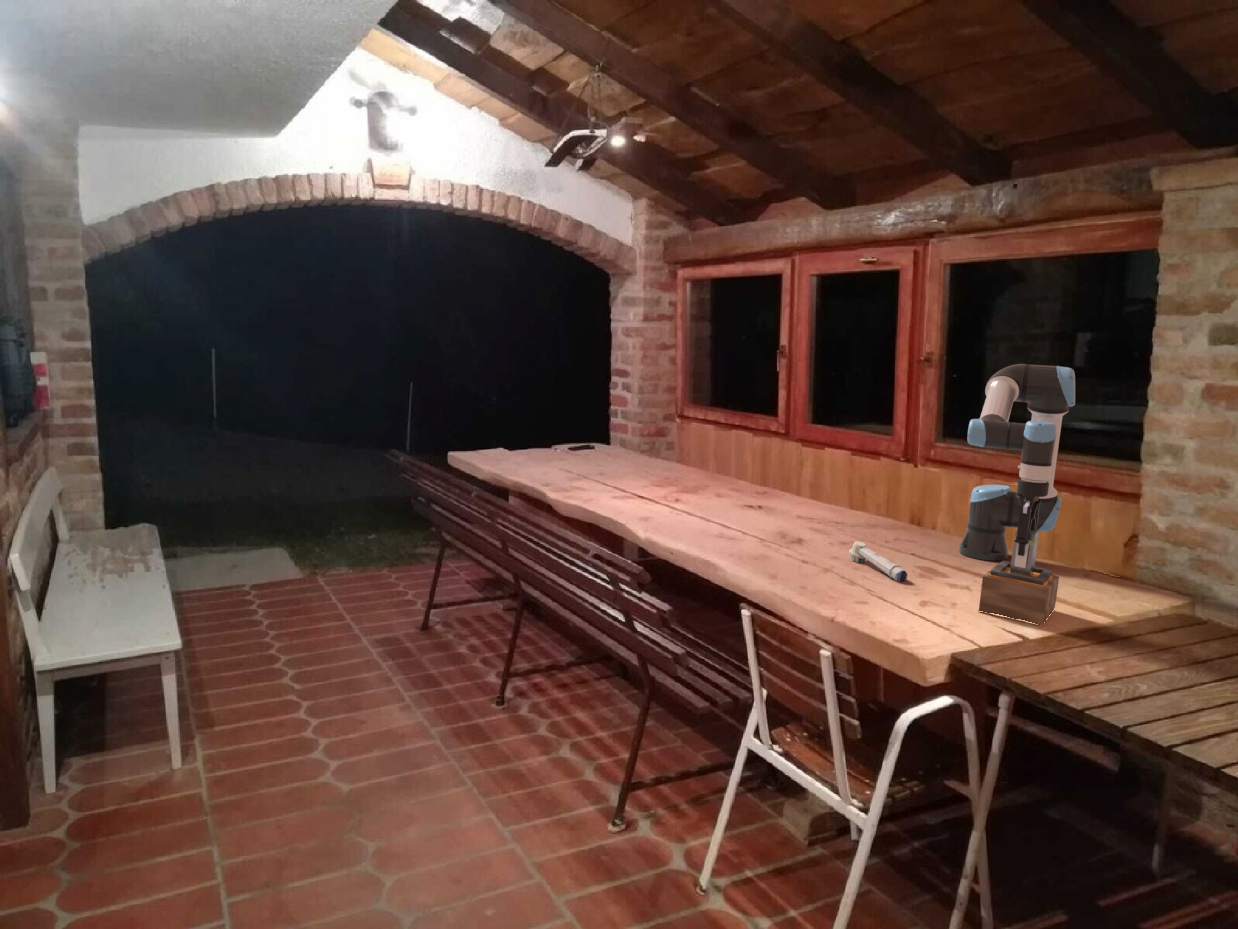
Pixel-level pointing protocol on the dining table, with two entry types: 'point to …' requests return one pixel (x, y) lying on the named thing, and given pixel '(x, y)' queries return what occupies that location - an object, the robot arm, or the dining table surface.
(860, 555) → the white plastic rod
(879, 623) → the dining table surface
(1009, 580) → the walnut stand
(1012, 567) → the steel column
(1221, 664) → the dining table surface
